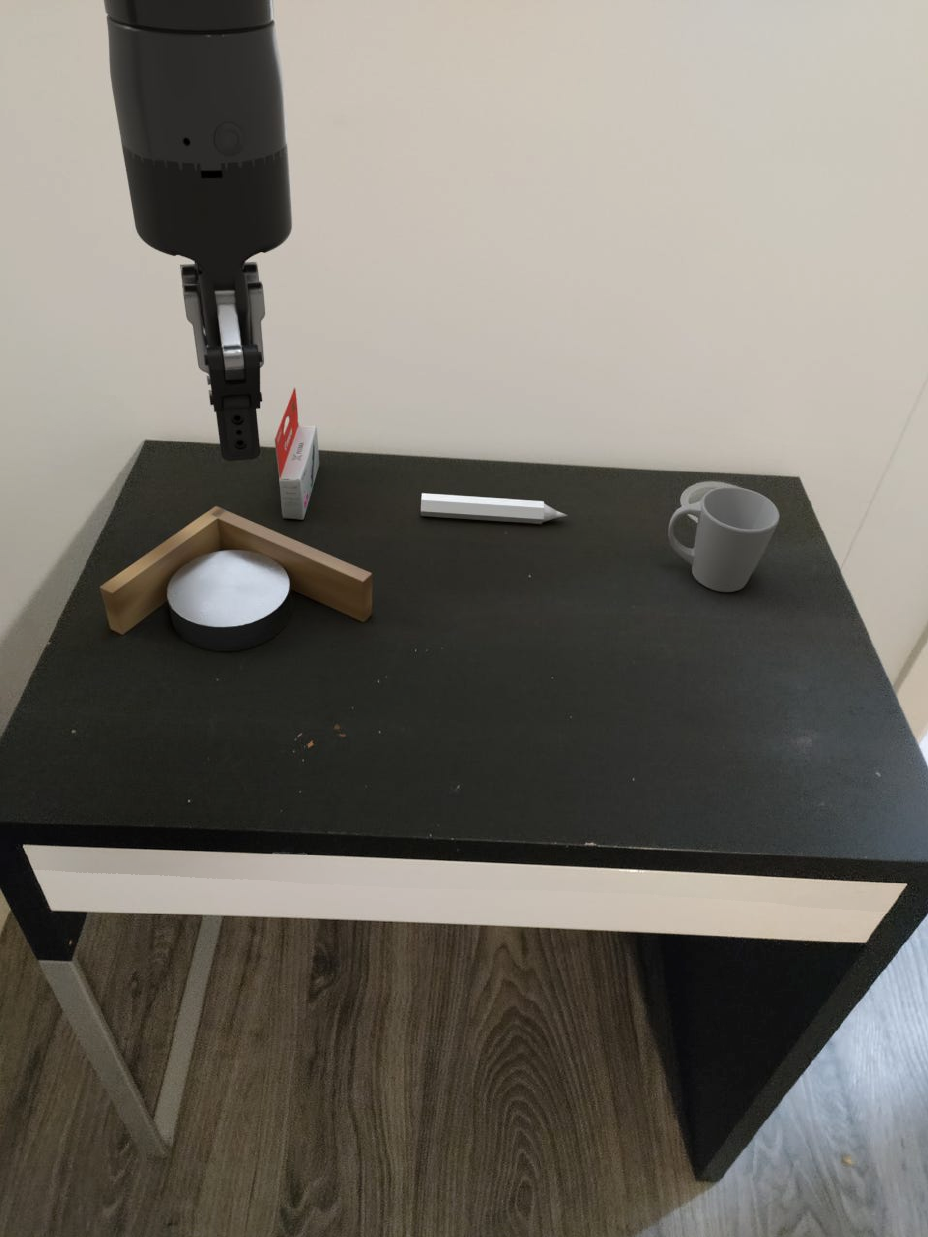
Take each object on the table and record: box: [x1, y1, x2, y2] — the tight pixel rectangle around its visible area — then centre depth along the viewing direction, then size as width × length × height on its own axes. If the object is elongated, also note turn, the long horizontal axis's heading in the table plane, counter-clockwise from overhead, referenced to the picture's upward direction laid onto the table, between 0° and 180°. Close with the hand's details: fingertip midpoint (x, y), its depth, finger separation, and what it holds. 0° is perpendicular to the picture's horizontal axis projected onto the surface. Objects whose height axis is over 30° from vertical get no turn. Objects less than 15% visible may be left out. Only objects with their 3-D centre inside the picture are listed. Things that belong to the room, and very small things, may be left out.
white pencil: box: [420, 492, 569, 525], centre depth 100 cm, size 3×2×16 cm
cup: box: [668, 486, 780, 593], centre depth 93 cm, size 8×10×8 cm
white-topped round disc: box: [167, 550, 293, 652], centre depth 86 cm, size 11×11×3 cm
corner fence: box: [99, 505, 373, 636], centre depth 85 cm, size 15×18×5 cm
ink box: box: [274, 387, 320, 521], centre depth 99 cm, size 2×11×10 cm, turn 178°
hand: (240, 453), depth 55 cm, fingers closed
